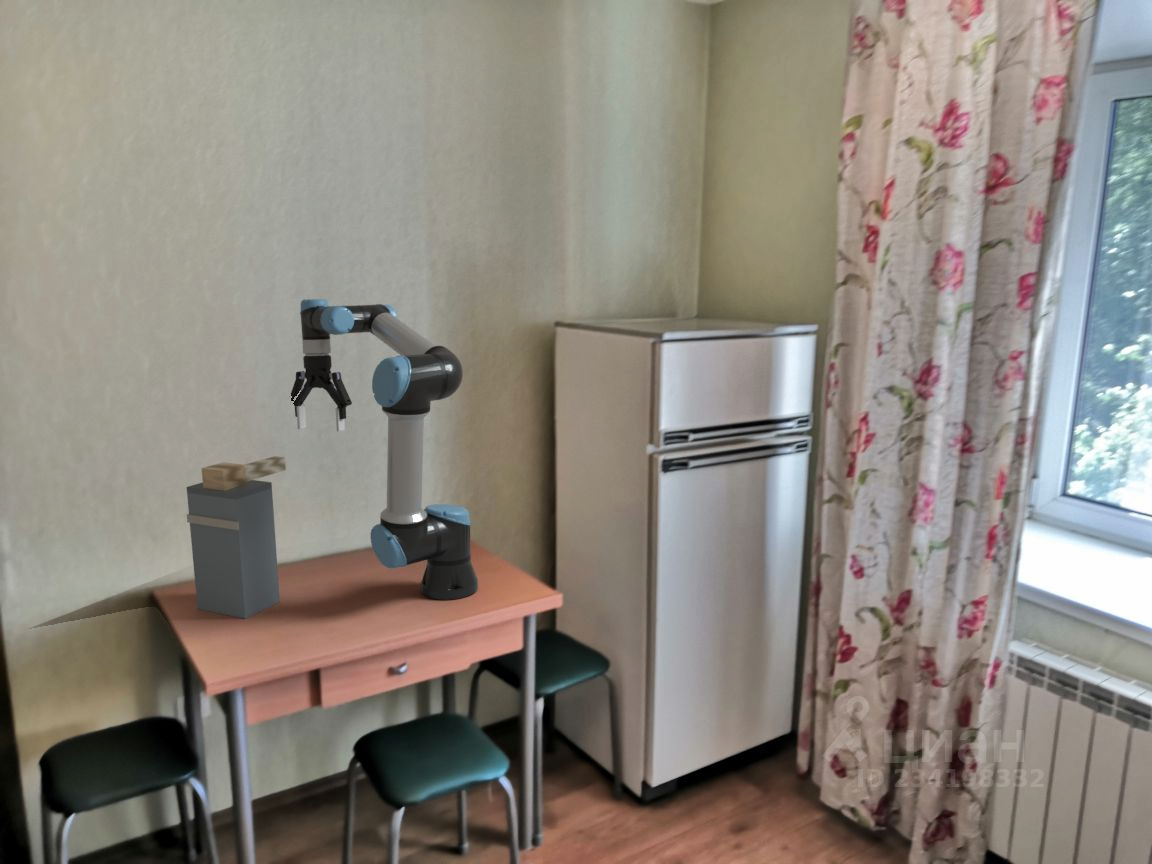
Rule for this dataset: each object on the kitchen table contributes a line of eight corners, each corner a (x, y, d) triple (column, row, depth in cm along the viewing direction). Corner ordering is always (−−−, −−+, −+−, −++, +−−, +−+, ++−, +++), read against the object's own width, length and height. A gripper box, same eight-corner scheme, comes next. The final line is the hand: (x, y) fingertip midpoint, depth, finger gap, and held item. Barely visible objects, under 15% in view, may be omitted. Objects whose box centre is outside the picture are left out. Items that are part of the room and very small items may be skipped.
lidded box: (280, 601, 222) (272, 482, 216) (244, 619, 211) (234, 494, 205) (232, 592, 228) (223, 476, 222) (195, 609, 217) (184, 487, 211)
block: (270, 468, 231) (269, 450, 230) (290, 470, 229) (289, 452, 228) (203, 487, 211) (201, 468, 210) (224, 490, 208) (222, 470, 207)
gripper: (362, 354, 239) (365, 429, 242) (290, 353, 248) (295, 425, 251) (345, 356, 232) (349, 433, 235) (272, 354, 241) (277, 429, 244)
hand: (321, 429), depth 243 cm, fingers open, 13 cm apart
